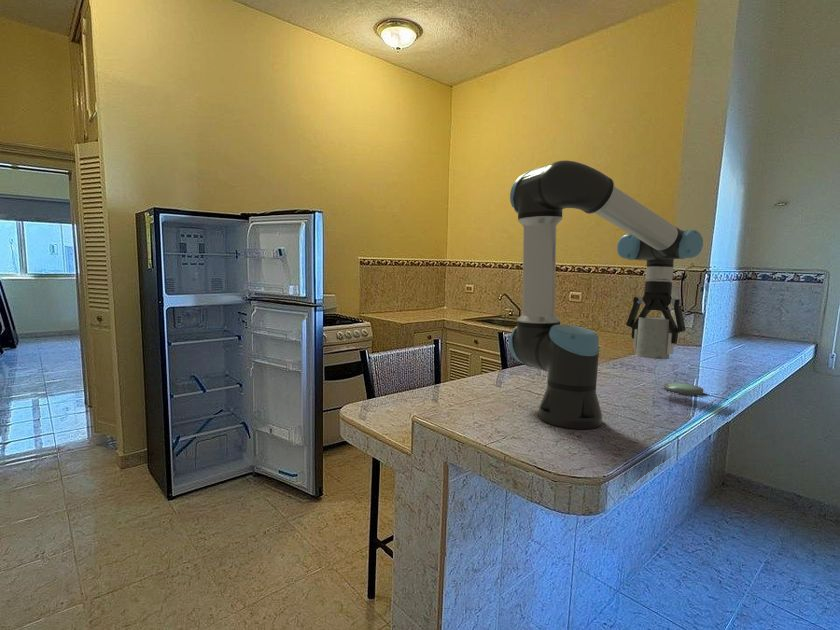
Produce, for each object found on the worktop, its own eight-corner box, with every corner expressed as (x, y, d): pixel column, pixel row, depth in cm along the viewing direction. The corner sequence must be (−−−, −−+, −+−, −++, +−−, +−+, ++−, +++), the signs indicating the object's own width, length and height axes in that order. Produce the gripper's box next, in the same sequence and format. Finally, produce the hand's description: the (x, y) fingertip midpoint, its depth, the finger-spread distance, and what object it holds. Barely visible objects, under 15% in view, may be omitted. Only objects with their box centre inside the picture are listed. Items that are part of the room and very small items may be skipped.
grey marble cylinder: (666, 360, 132) (670, 320, 131) (632, 356, 138) (635, 317, 137) (671, 356, 140) (674, 318, 139) (638, 352, 145) (641, 316, 145)
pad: (663, 392, 140) (663, 387, 140) (664, 385, 150) (664, 380, 150) (703, 397, 135) (704, 392, 135) (702, 390, 144) (702, 385, 144)
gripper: (702, 282, 131) (696, 356, 132) (628, 280, 148) (623, 345, 150) (693, 281, 126) (686, 357, 128) (618, 279, 143) (612, 347, 145)
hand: (652, 351), depth 139 cm, fingers closed on grey marble cylinder, 9 cm apart
